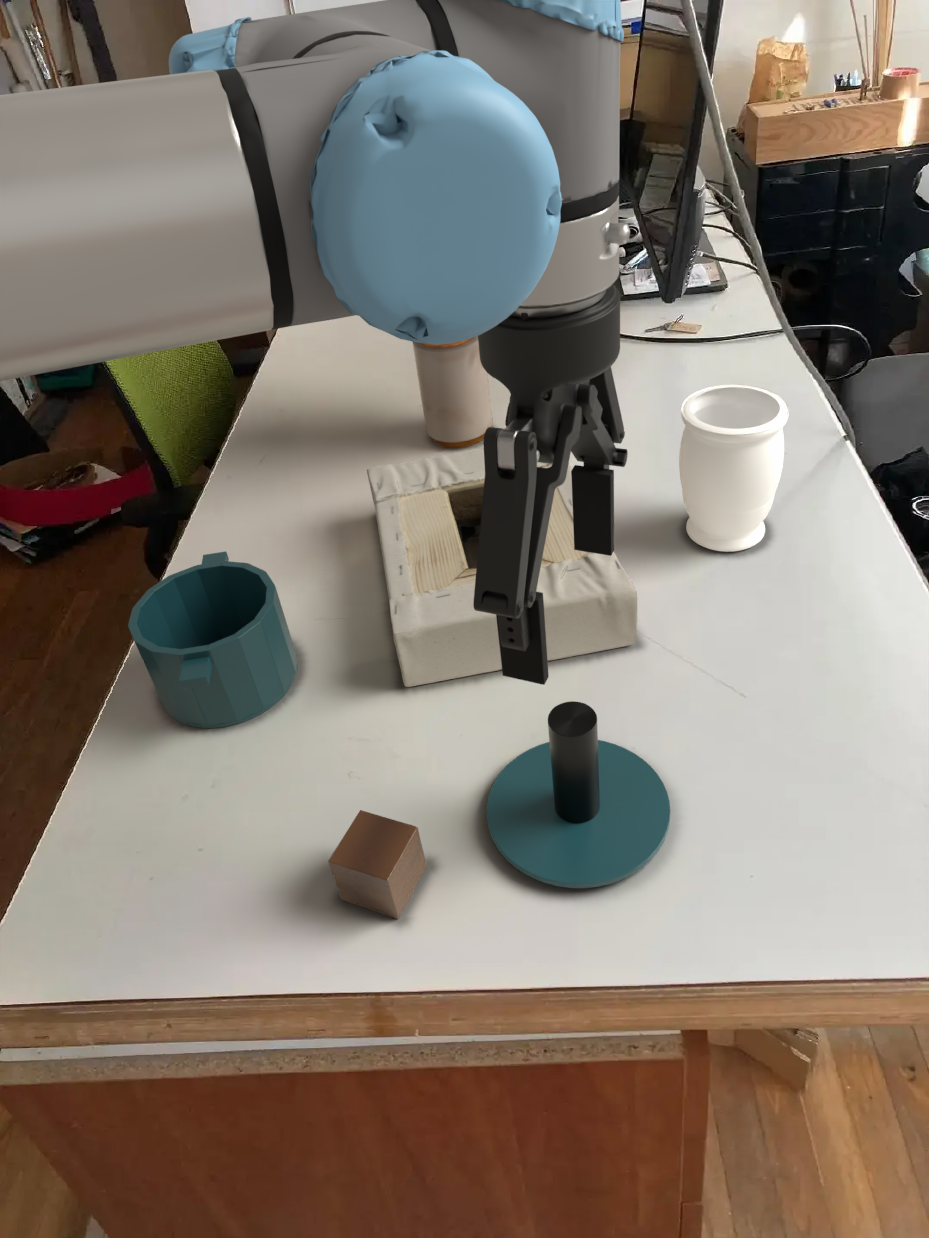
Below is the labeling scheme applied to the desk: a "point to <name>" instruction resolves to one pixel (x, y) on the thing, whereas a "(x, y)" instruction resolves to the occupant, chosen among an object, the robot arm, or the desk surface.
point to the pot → (215, 642)
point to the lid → (578, 806)
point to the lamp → (453, 392)
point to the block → (378, 863)
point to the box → (446, 572)
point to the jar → (731, 463)
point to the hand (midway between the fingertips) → (562, 608)
